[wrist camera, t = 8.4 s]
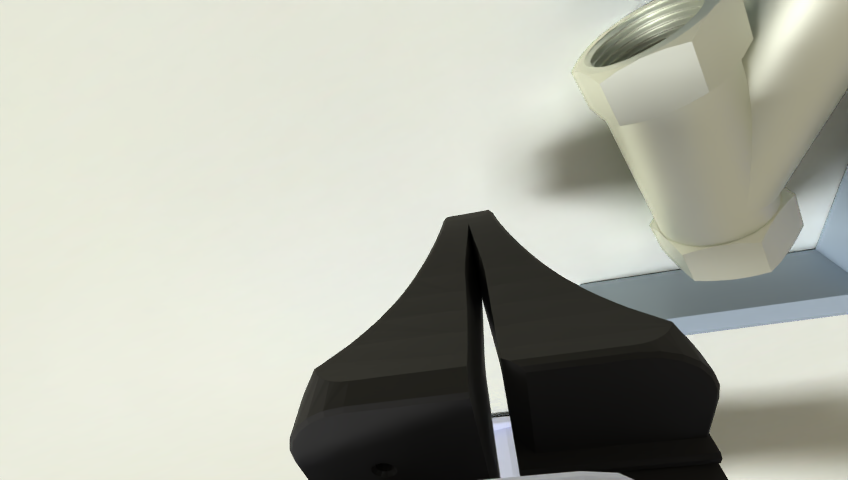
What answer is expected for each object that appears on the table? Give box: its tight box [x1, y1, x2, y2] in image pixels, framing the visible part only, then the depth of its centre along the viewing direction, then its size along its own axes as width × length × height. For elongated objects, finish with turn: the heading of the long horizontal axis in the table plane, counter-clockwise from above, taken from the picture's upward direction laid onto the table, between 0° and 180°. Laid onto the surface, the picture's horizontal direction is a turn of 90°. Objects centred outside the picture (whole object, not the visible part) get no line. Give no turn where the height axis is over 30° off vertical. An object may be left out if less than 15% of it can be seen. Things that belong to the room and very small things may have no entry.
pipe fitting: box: [571, 0, 848, 281], centre depth 11 cm, size 8×4×7 cm
